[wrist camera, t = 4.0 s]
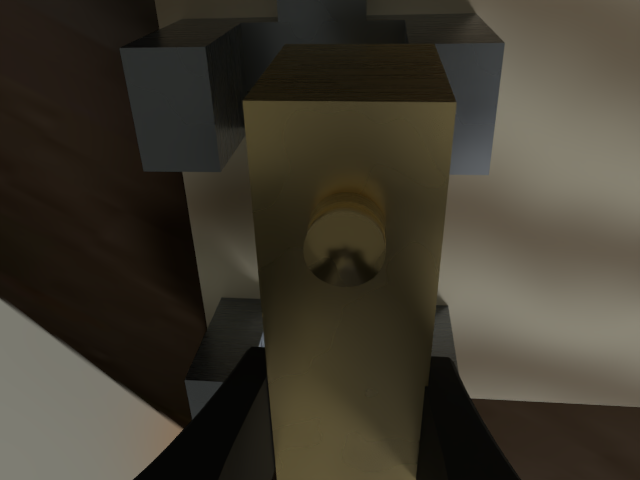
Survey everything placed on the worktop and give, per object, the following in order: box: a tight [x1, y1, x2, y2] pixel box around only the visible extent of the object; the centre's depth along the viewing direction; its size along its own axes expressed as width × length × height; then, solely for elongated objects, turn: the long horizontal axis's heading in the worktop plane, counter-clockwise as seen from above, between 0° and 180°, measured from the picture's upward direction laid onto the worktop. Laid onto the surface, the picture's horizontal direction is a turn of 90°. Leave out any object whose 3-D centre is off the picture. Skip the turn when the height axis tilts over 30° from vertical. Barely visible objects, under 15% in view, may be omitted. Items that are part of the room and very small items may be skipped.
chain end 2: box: [185, 297, 459, 420], centre depth 20 cm, size 4×8×4 cm, turn 92°
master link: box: [243, 44, 457, 480], centre depth 13 cm, size 13×3×5 cm, turn 1°
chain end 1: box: [120, 0, 505, 175], centre depth 15 cm, size 4×8×4 cm, turn 92°
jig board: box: [155, 0, 640, 407], centre depth 19 cm, size 16×17×1 cm
